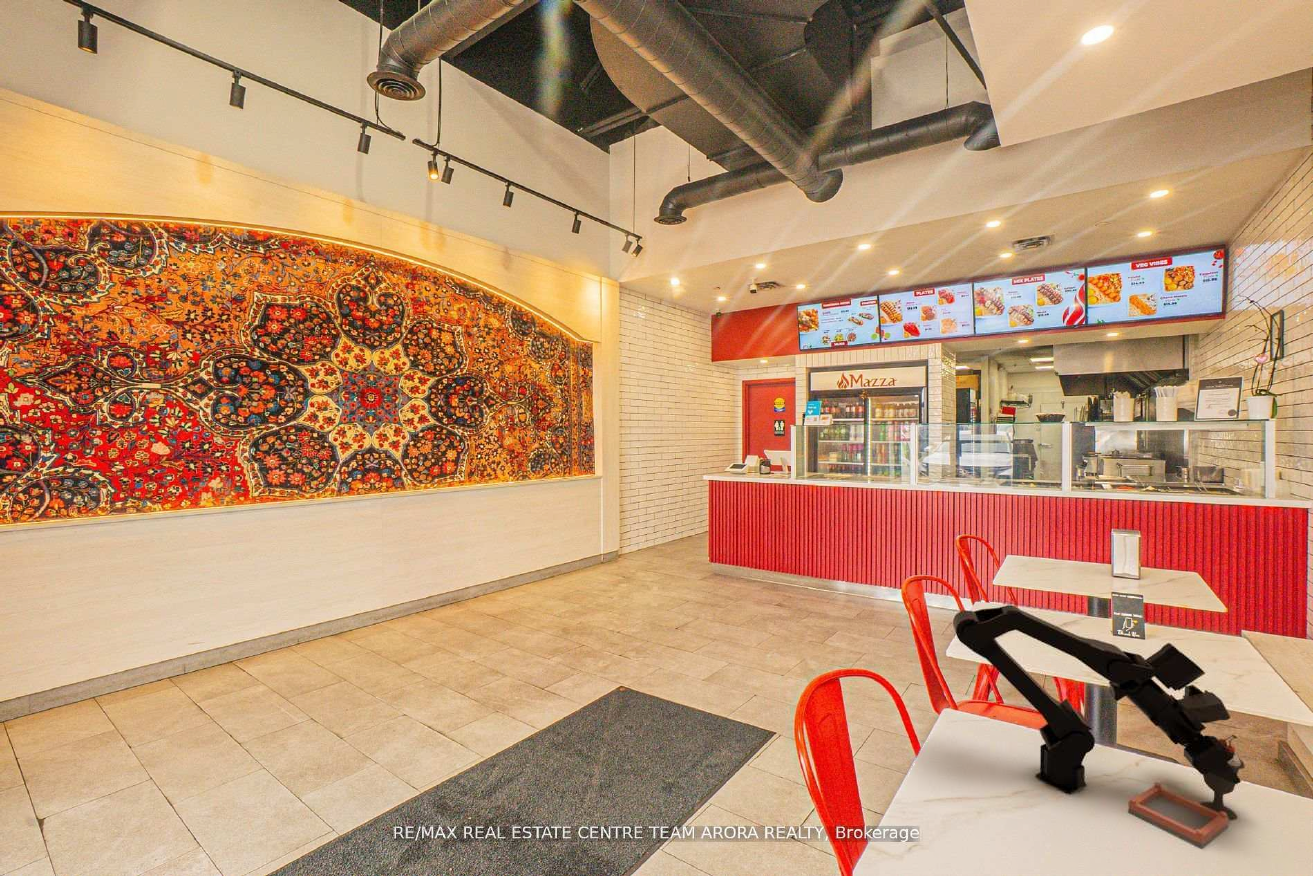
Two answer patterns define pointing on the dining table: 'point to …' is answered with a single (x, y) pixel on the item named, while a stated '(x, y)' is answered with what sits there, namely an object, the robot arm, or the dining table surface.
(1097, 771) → the dining table surface
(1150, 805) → the baseplate
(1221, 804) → the sundae
